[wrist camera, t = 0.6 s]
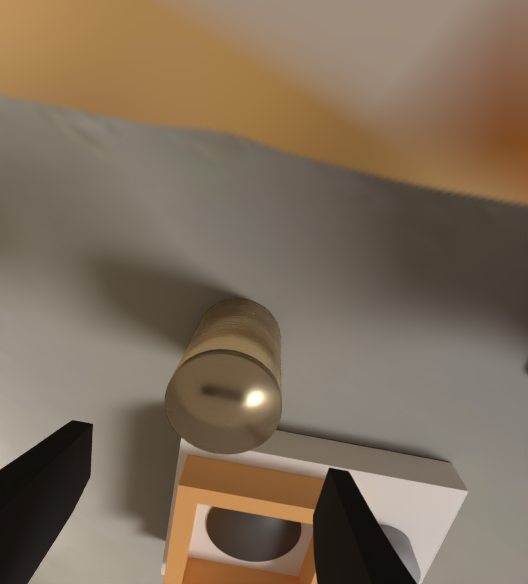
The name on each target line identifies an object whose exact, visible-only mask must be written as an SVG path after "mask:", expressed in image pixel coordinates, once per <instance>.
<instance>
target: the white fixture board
mask: <svg viewBox="0 0 528 584" xmlns="http://www.w3.org/2000/svg"><path fill="white" fill-rule="evenodd" d="M329 468H335V469H340V470H346V471H349V473H350V474H351V476H352V478H353V479H354V481H355V483H356V485H357V487H358V488H359V490H360V492H361V494H362V495H363V497H364V499H365V501H366V503H367V504H368V506H369V508H370V510H371V511H372V513H373V515H374V516H375V518H376V520H377V522H378V523H379V525H380V527H381V528H382V530H383V532H384V533H385V535H386V536H387V538H388V540H389V541H390V543H391V545H392V546H393V548H394V549H395V551H396V553H397V554H398V556H399V557H400V559H401V560H402V562H403V563H404V565H405V566H406V568H407V569H408V571H409V572H410V574H411V575H412V577H413V578H414V580H415V581H416V583H417V584H421V583H422V581H423V579H424V577H425V575H426V573H427V571H428V569H429V567H430V565H431V563H432V561H433V559H434V557H435V556H436V554H437V552H438V550H439V548H440V546H441V544H442V542H443V540H444V538H445V536H446V534H447V532H448V530H449V528H450V526H451V524H452V522H453V521H454V519H455V517H456V515H457V513H458V511H459V509H460V507H461V505H462V503H463V501H464V499H465V497H466V495H467V493H468V490H467V488H466V486H465V485H464V483H463V481H462V480H461V478H460V476H459V475H458V473H457V471H456V469H455V468H454V466H453V464H452V463H449V462H444V461H438V460H433V459H428V458H422V457H417V456H412V455H407V454H401V453H396V452H391V451H385V450H380V449H375V448H369V447H364V446H359V445H353V444H348V443H343V442H337V441H332V440H327V439H321V438H316V437H311V436H305V435H300V434H295V433H289V432H284V431H279V430H275V432H274V433H273V434H272V436H271V437H270V438H269V439H268V440H267V441H266V442H264V443H263V444H262V445H260V446H258V447H257V448H255V449H252V450H250V451H247V452H244V453H239V454H230V455H226V454H215V453H210V452H207V451H204V450H201V449H199V448H197V447H194V446H193V445H191V444H189V443H188V442H186V441H185V440H184V439H183V438H182V437H181V442H180V449H179V456H178V463H177V469H176V476H175V483H174V489H173V496H172V503H171V510H170V516H169V523H168V530H167V537H166V543H165V550H164V557H163V564H162V570H161V575H164V581H163V584H317V577H316V569H315V561H314V548H313V514H314V511H315V508H316V505H317V502H318V499H319V496H320V493H321V490H322V487H323V484H324V481H325V478H326V475H327V472H328V469H329Z"/></svg>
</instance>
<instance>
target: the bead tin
mask: <svg viewBox="0 0 528 584" xmlns="http://www.w3.org/2000/svg"><path fill="white" fill-rule="evenodd" d="M165 411H166V414H167V417H168V420H169V422H170V424H171V425H172V427H173V428H174V430H175V431H176V432H177V433H178V434H179V435H180V436H181V437H182V438H183V439H184V440H185V441H186V442H188V443H189V444H191V445H193V446H194V447H197V448H199V449H201V450H204V451H207V452H210V453H215V454H226V455H230V454H239V453H244V452H247V451H250V450H252V449H255V448H257V447H258V446H260V445H262V444H263V443H264V442H266V441H267V440H268V439H269V438H270V437H271V436H272V434H273V433H274V432H275V430H276V428H277V427H278V425H279V422H280V419H281V413H282V389H281V335H280V329H279V326H278V323H277V321H276V319H275V318H274V316H273V315H272V314H271V313H270V312H269V311H268V310H267V309H266V308H265V307H263V306H262V305H260V304H258V303H256V302H253V301H250V300H246V299H229V300H225V301H222V302H220V303H218V304H216V305H214V306H213V307H211V308H210V309H209V310H208V311H207V312H206V313H205V315H204V316H203V318H202V320H201V321H200V323H199V325H198V327H197V329H196V331H195V333H194V335H193V337H192V339H191V341H190V343H189V345H188V347H187V349H186V351H185V353H184V355H183V357H182V359H181V361H180V363H179V365H178V367H177V369H176V370H175V372H174V374H173V376H172V378H171V380H170V382H169V384H168V387H167V389H166V394H165Z"/></svg>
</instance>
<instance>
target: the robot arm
mask: <svg viewBox="0 0 528 584" xmlns="http://www.w3.org/2000/svg"><path fill="white" fill-rule="evenodd" d="M92 430H93V424H91V423H85V422H80V421H74V420H72V421H70V422H69V423H67V424H66V425H64V426H63V427H61V428H60V429H59V430H57V431H56V432H54V433H53V434H51V435H50V436H49V437H47V438H46V439H44V440H43V441H41V442H40V443H39V444H37V445H36V446H34V447H33V448H31V449H30V450H29V451H27V452H26V453H24V454H23V455H21V456H20V457H18V458H17V459H15V460H14V461H12V462H11V463H9V464H8V465H6V466H5V467H3V468H2V469H0V584H28V582H29V580H30V579H31V577H32V576H33V574H34V573H35V571H36V569H37V568H38V566H39V565H40V563H41V562H42V560H43V558H44V557H45V555H46V554H47V552H48V551H49V549H50V547H51V546H52V544H53V543H54V541H55V540H56V538H57V536H58V535H59V533H60V532H61V530H62V528H63V527H64V525H65V524H66V522H67V520H68V519H69V517H70V516H71V514H72V512H73V510H74V508H75V506H76V504H77V503H78V501H79V499H80V497H81V495H82V493H83V490H84V488H85V486H86V484H87V482H88V480H89V478H90V474H91V452H92ZM313 548H314V561H315V569H316V577H317V584H417V583H416V581H415V580H414V578H413V577H412V575H411V574H410V572H409V571H408V569H407V568H406V566H405V565H404V563H403V562H402V560H401V559H400V557H399V556H398V554H397V553H396V551H395V549H394V548H393V546H392V545H391V543H390V541H389V540H388V538H387V536H386V535H385V533H384V532H383V530H382V528H381V527H380V525H379V523H378V522H377V520H376V518H375V516H374V515H373V513H372V511H371V510H370V508H369V506H368V504H367V503H366V501H365V499H364V497H363V495H362V494H361V492H360V490H359V488H358V487H357V485H356V483H355V481H354V479H353V478H352V476H351V474H350V473H349V471H346V470H340V469H335V468H329V469H328V472H327V475H326V478H325V481H324V484H323V487H322V490H321V493H320V496H319V499H318V502H317V505H316V508H315V511H314V514H313Z"/></svg>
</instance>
